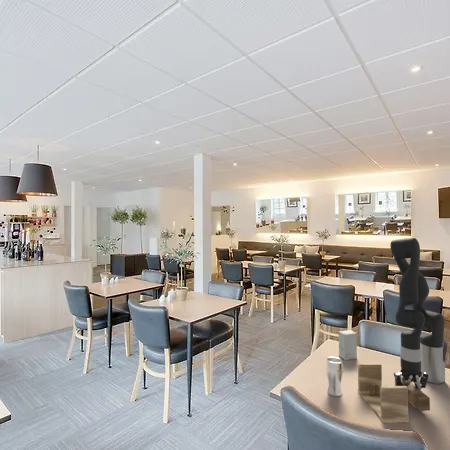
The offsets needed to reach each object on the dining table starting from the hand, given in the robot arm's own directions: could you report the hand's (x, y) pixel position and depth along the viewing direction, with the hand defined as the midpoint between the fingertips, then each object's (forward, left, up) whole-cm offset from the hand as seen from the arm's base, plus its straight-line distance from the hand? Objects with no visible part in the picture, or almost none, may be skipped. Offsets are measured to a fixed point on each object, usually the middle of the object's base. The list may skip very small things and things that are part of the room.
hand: (411, 397), depth 127 cm
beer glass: (+29, -10, -4) cm, 31 cm away
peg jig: (+13, 0, -3) cm, 13 cm away
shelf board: (0, 0, -1) cm, 1 cm away
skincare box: (+8, -46, -4) cm, 47 cm away
